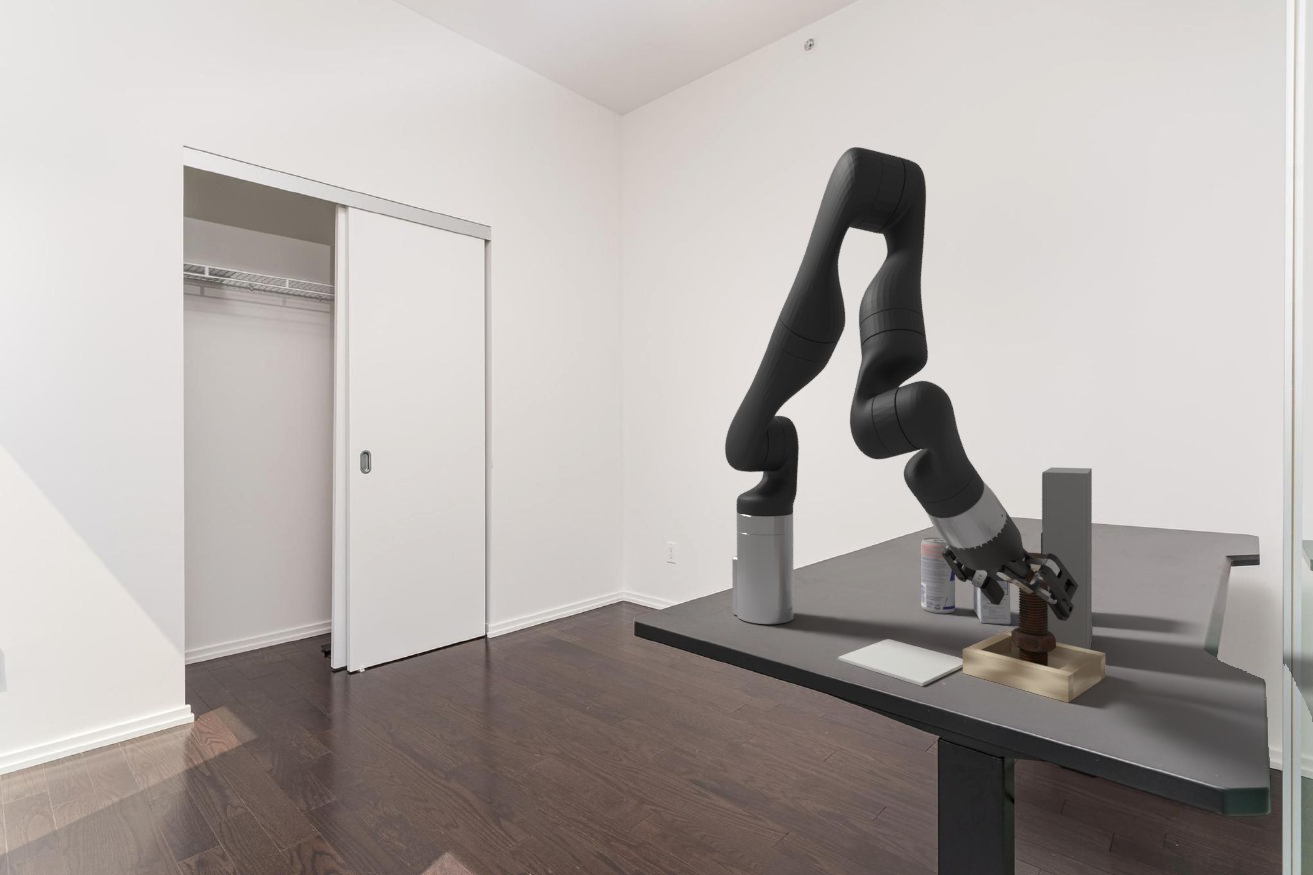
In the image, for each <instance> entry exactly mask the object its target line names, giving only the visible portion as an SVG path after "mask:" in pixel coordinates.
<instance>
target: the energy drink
mask: <svg viewBox="0 0 1313 875" xmlns="http://www.w3.org/2000/svg"><path fill="white" fill-rule="evenodd" d="M946 545H947V544H946V542H945V541H944V539H943V538H942V537H924V538H922V541H921V543H920V588H921V589H920V598H921V600H920V603H921V604H920V606H921V608H922V609H923V610H924V611H925V612H929V613H933V614H943V615H944V614H952V613H954V611H955V610H956V575H955V574H954V572H953V571H952V569H951V568H950V566H949V565H948V563H947V562H946V560H945V559H944V557H943V556H942V552H943V551H944V549H945V547H946Z"/></svg>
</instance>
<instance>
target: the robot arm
mask: <svg viewBox="0 0 1313 875" xmlns="http://www.w3.org/2000/svg"><path fill="white" fill-rule="evenodd" d="M819 205H820V206H819V208H818V211H817V215H816V218H815V221H814V225H813V227H812V230H811V233H810V236H809V240H808V243H807V247H806V249H805V252H804V254H803V258H802V260H801V263H800V265H799V268H798V271H797V274H796V276H795V278H794V280H793V283H792V286H791V288H790V290H789V293H788V294H787V297H786V299H785V302H784V303H783V306H782V308H781V310H780V312H779V315H778V318H777V321H776V322H775V325H774V328H773V330H772V332H771V335H770V338H769V341H768V344H767V347H766V350H765V351H764V352H765V353H764V355H763V357H762V359H761V361H760V363H759V365H758V369H757V371H756V373H755V376H754V378H753V380H752V381H751V384H750V386H749V388H748V389H747V392H746V394H745V396H744V397H743V399H742V401H741V403H740V405H739V406H738V409H737V410H736V413H735V414H734V417H733V418H732V420H731V422H730V424H729V428H728V431H727V434H726V437H725V444H724V452H725V458H726V459H725V460H726V462H727V463H728V465H729V466H730V467H731V468H732V469H734V470H736V471H737V472H738V471H739V472H745V473H746V472H747V473H756V472H757V473H759V472H763V473H762V478H761V480H760V481H759V482H758V483H757V484H756V485H755V486H754V487H752V488H750V489H749V490H747V491H744V492H743V493H740V494H739V495H738V496H737V499H736V556H733V558H732V561H731V562H732V565H731V566H732V573H731V574H732V579H731V580H732V614H733V615H735V616H737V618H738V619H740V620H742V621H743V622H747V623H752V624H760V625H778V624H785V623H788V622H790V621H792V620H794V503H795V500H796V497H797V491H798V474H799V473H798V472H799V471H798V470H799V469H798V468H799V455H800V454H799V450H800V447H799V435H798V432H797V428H796V426H795V424H794V422H793V421H792V420H791V418H789V417H787V416H784V415H777V413H778V412H779V410H780V409H781V408H782V407H783V406H784V405H785V404H786V403H787V402H788V401H789V400H790V399H792V397H794V396H795V395H796V394H797V393H799V392H800V391H801V390H802V389H804V388H805V387H806V386H807V385H808V384H810V383H811V382H812V381H813V380H814V379H815V378H816V377H818V375H819V374H820V373H822V371H823V370H825V368H826V367H827V365H828V364H829V361H830V360H831V358H832V356H833V354H834V352H835V349H836V348H837V346H838V343H839V342H840V339H841V337H842V334H843V333H844V331H845V327H846V308H845V302H844V297H843V296H844V295H843V292H842V285H841V281H840V276H839V259H840V254H841V249H842V245H843V242H844V239H845V236H846V234H847V232H848V230H849V229H850V228H851V229H857V230H859V231H865V232H870V233H873V234H878V235H879V234H880V235H881V234H882V235H883V237H884V240H885V244H886V258H885V259H884V261H883V262H882V265H881V267H880V268H879V270H878V271H877V273H876V274H875V276H873V278H872V280H871V281H870V283H869V284H868V286H867V288H866V290H865V291H864V293H863V296H862V297H861V302H860V304H859V310H858V328H859V340H860V352H861V353H860V354H861V361H860V366H859V370H858V374H857V379H856V383H855V388H854V392H853V397H852V401H851V406H850V413H849V427H850V433H851V437H852V439H853V442H854V443H855V445H856V447H857V448H858V450H859V451H860V452H861V453H862V454H863V455H864V456H866V457H868V458H870V459H871V460H872V459H873V460H886V459H890V458H894V457H897V456H901V455H906V454H909V453H913V452H916V453H915V454H913V455H912V456H911V457H910V458H909V459H908V461H907V462H906V464H905V466H904V470H903V478H904V482H905V484H906V486H907V488H908V489H909V491H910V492H911V494H912V495H913V496H914V497H915V498H916V500H917V501H918V503H919V504H920V505H921V507H922V508H923V509H924V511H925V512H926V514H927V516H928V518H929V520H930V523H931V524H932V526H933V527H934V528H935V531H937V533H938V534H939V536H940V538H943V539H944V541H945V542H946V544H947V545H946V547H945V549H944V551H943V552H942V556H943V557H944V559H945V560H946V562H947V563H948V565H949V566H950V568H951V569H952V571H953V572H954V574H955V578H957V579H958V580H959V581H960V582H963V583H966V582H967V581H969V582H971V584H972V586H973V587H974V586H975V587H978V588H980V590H981V591H982V592H983V594H984V595H985V596H986V597H987V598H988V599H989V601H990V602H991V603H992V604H995V605H999V604H1000V602H1001V600H1002V599H1003V597H1004V590H1003V589H1002V588H1001V586H1000V585H999V583H998V582H997V581H1006V582H1009V583H1010V584H1013V585H1014V586H1016V587H1017V588H1018V589H1019V588H1021V589H1022V590H1024V591H1025V592H1027V593H1028V594H1033V593H1035V594H1037V595H1038V596H1040V597H1041V598H1043V599H1044V600H1046V601H1047V604H1048V605H1049V607H1050V608H1051V609H1052V611H1053V612H1054V614H1055V615H1056V617H1057V618H1058V619H1059V620H1062V621H1066V620H1067V619H1068V618H1069V617H1070V615H1071V613H1072V611H1073V609H1074V605H1073V604H1072V602H1071V600H1072V598H1073V596H1074V594H1075V592H1076V590H1077V588H1078V584H1077V583H1076V581H1075V580H1074V579H1073V577H1072V576H1071V575H1070V573H1069V572H1068V571H1067V569H1066V568H1065V566H1064V565H1063V564H1062V562H1061V561H1060V560H1059V558H1058V557H1057V556H1056V555H1054V554H1051V553H1048V554H1047V555H1046V557H1045V559H1040V558H1034V557H1033V556H1032V555H1031V554H1030V553H1031V552H1029V551H1028V550H1026V549H1025V548H1024V546H1023V541H1022V540H1023V539H1022V535H1021V533H1020V530H1019V528H1018V526H1017V525H1016V524H1015V522H1014V521H1013V519H1012V518H1011V516H1010V514H1009V512H1008V511H1007V510H1006V509H1005V507H1004V506H1003V504H1002V503H1001V501H1000V499H999V498H998V497H997V495H996V494H995V492H994V491H993V490H992V489H991V488H990V487H989V485H988V484H987V483H986V482H985V481H984V480H983V479H982V477H981V475H980V474H979V473H978V471H977V469H976V468H975V466H974V465H973V463H972V462H971V461H970V458H968V455H967V452H966V451H965V448H964V445H963V442H962V439H961V436H960V433H959V430H958V425H957V419H956V416H955V411H954V407H953V404H952V401H951V399H950V398H951V397H949V394H948V393H947V392H946V391H945V390H944V389H943V388H942V387H941V386H939V385H937V384H936V383H934V382H932V381H928V380H918V381H914V382H910V383H908V384H905V385H902V384H904V383H905V382H906V381H909V379H911V378H912V377H914V376H915V375H917V374H918V373H919V372H921V371H922V370H923V369H924V368H925V367H926V365H927V363H928V359H929V352H928V351H929V350H928V342H927V341H928V340H927V335H926V333H927V332H926V327H925V317H924V311H923V299H922V271H923V270H922V268H923V257H924V256H923V255H924V243H925V242H924V240H925V227H926V226H925V224H926V222H925V221H926V208H927V185H926V178H925V174H924V171H923V169H922V168H921V166H920V165H919V164H918V163H916V162H915V161H913V160H910V159H907V158H903V157H901V156H897V155H892V154H890V153H889V154H888V153H885V152H881V151H876V150H872V149H869V148H865V147H859V146H855V147H850V148H848V149H847V150H846V151H845V152H844V153H843V154H841V156H840V158H838V160H837V162H836V164H835V166H834V168H833V170H832V172H831V174H830V176H829V179H828V182H827V184H826V188H825V190H824V193H823V196H822V199H821V201H820V204H819ZM901 385H902V386H901ZM917 451H918V452H917ZM1031 569H1032V570H1033V571H1034V573H1035V575H1034V577H1033V579H1032V581H1031V583H1030V584H1029V583H1027V582H1026V581H1025V579H1026V577H1027V576H1028V574H1029V572H1030V570H1031ZM996 580H997V581H996ZM1043 581H1044V582H1045V583H1047V585H1048V586H1049V587H1050V589H1049V591H1048V592H1047V591H1046V590H1044V589H1043V588H1042V587H1041V585H1042V583H1043Z"/></svg>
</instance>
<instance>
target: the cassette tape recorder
mask: <svg viewBox="0 0 1313 875" xmlns="http://www.w3.org/2000/svg"><path fill="white" fill-rule="evenodd" d="M1092 470H1093V469H1092V467H1091V468H1087V467H1082V468H1081V467H1049V468H1048V469H1046V470H1044V471H1042V473H1041V530H1042V532H1041V533H1040V553H1041V554H1048V553H1051V554H1054V555H1056V556H1057V557H1058V558H1059V560H1060V561H1061V562H1062V564H1063V565H1064V566H1065V568H1066V569H1067V571H1068V572H1069V573H1070V575H1071V576H1072V577H1073V579H1074V580H1075V581H1076V583H1077V584H1078V588H1077V590H1076V592H1075V594H1074V596H1073V598H1072V600H1071V602H1072V604H1073V605H1074V609H1073V611H1072V613H1071V615H1070V617H1069V618H1068V619H1067V620H1066V621H1062V620H1059V619H1058V618H1057V617H1056V615H1055V614H1054V612H1053V611H1052V609H1051V608H1050V607H1049V605H1048V604H1047V605H1048V607H1047V608H1048V610H1047V611H1048V615H1047V616H1048V618H1047V619H1048V621H1047V622H1048V626H1047V627H1048V629H1047V630H1048V631H1049V632H1051V633H1052V634H1053V635H1054V636H1055V638H1056V642H1057V643H1062V644H1066V645H1071V646H1075V647H1080V648H1084V649H1089V650H1091V646H1092V642H1093V641H1092V640H1093V631H1094V630H1093V629H1094V628H1093V626H1092V623H1093V622H1092V619H1093V618H1092V616H1093V615H1092V613H1093V612H1092V611H1093V610H1092V606H1093V604H1092V598H1093V597H1092V595H1093V594H1092V592H1093V590H1092V586H1093V584H1092V583H1093V581H1092V579H1093V578H1092V575H1093V574H1092V573H1093V572H1092V566H1093V564H1092V563H1093V562H1092V559H1093V558H1092V557H1093V556H1092V553H1093V552H1092V546H1093V543H1092V541H1093V539H1092V535H1093V534H1092V530H1093V529H1092V527H1093V526H1092V525H1093V524H1092V523H1093V522H1092V518H1093V517H1092V514H1093V513H1092V511H1093V510H1092V507H1093V506H1092V504H1093V503H1092V502H1093V500H1092V498H1093V497H1092V494H1093V492H1092V484H1093V483H1092V481H1093V477H1092V475H1093V471H1092ZM1049 589H1050V587H1049V586H1048V591H1049ZM1048 591H1047V592H1048Z"/></svg>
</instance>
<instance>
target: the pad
mask: <svg viewBox="0 0 1313 875" xmlns="http://www.w3.org/2000/svg"><path fill="white" fill-rule="evenodd" d="M837 661H840V662H843V663H846V664H849V665H853V666H856V667H860V668H862V669H865V670H869V671H872V672H875V673H879V674H882V675H885V676H888V677H892V678H895V679H898V680H901V681H904V682H908V683H911V684H913V685H918V686H920V687H924V686H926V685H928V684H930V683H932V682H935V681H937V680H939V679H941V678H943V677H945V676H947V675H949V674H951V673H954V672H955V671H957V670H960V669H963V657H962V658H961V657H957V656H954V655H950V654H945V653H942V652H940V651H939V652H938V651H935V650H930V649H928V648H923V647H919V646H915V645H912V644H908V643H904V642H901V641H897V640H894V639H890V638H887V639H884V640H881V641H878V642H875V643H873V644H870V645H867V646H864V647H862V648H859V649H856V650H853V651H850V652H848V653H845V654H843V655H840V656H838V657H837Z"/></svg>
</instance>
